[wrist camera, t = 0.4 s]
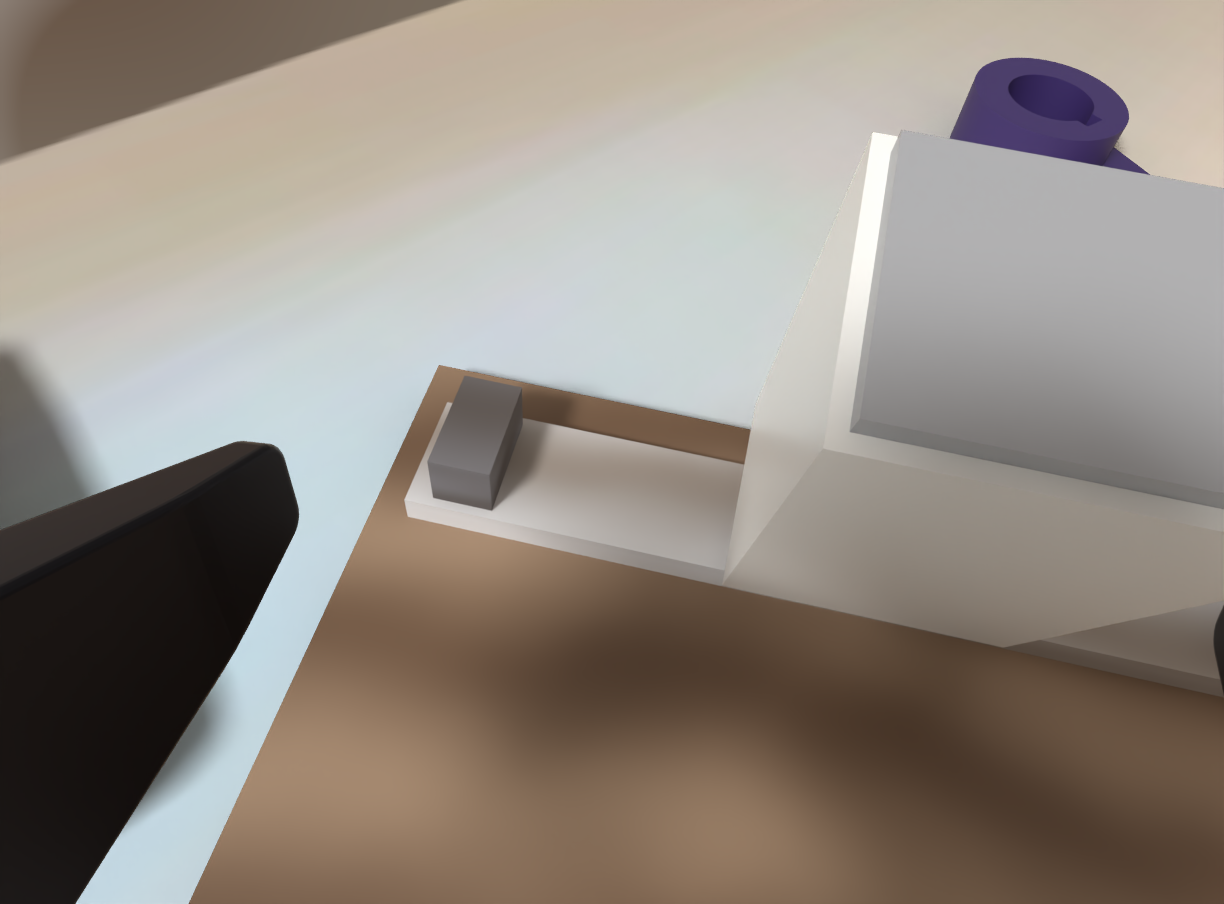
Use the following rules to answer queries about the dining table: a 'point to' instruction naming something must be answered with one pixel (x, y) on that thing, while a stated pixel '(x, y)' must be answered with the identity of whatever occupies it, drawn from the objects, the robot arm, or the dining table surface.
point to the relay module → (996, 400)
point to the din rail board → (692, 707)
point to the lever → (1045, 113)
